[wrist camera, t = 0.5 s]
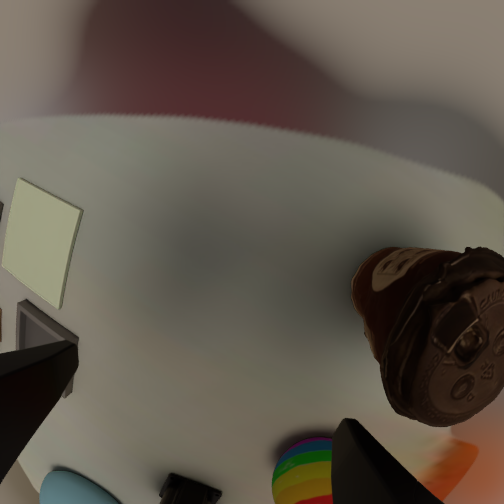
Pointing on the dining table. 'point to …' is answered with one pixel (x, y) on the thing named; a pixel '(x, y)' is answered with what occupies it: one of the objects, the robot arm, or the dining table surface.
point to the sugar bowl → (71, 490)
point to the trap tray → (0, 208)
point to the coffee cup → (435, 329)
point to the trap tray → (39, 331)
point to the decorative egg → (304, 473)
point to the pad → (40, 240)
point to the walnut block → (0, 323)
